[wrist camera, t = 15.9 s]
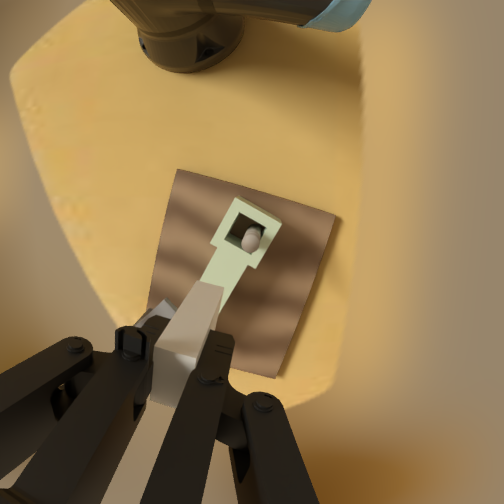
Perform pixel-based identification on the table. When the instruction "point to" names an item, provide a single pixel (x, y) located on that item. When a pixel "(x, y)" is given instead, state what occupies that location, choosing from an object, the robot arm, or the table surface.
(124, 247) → the table surface
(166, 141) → the table surface
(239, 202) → the link
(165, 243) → the pintle board
